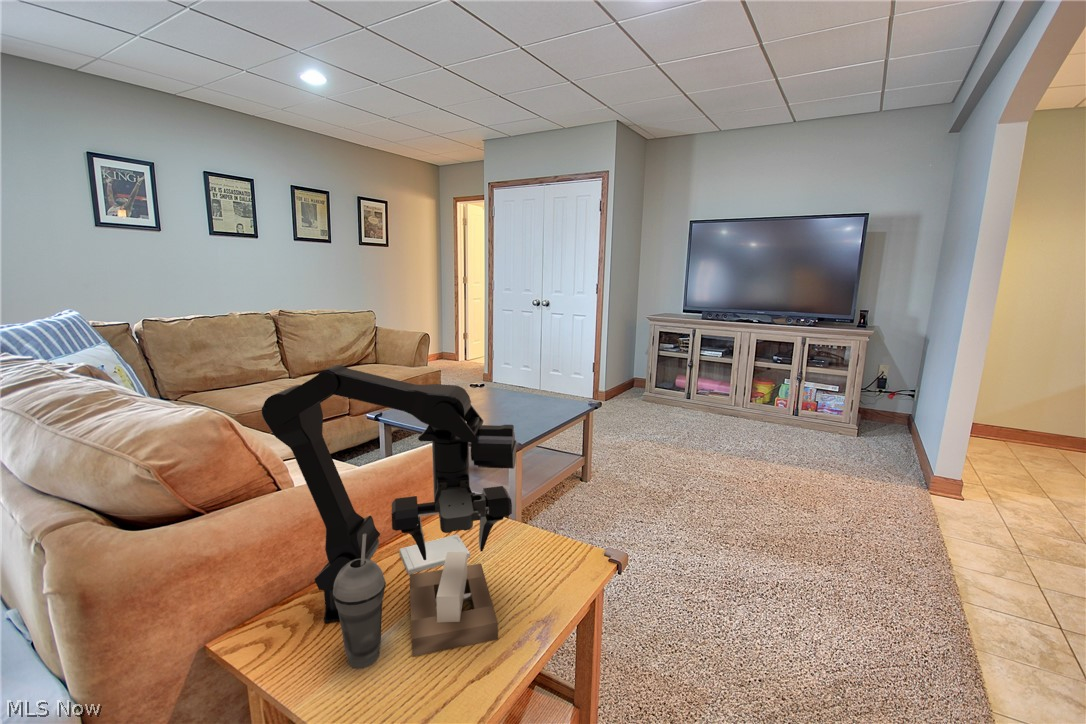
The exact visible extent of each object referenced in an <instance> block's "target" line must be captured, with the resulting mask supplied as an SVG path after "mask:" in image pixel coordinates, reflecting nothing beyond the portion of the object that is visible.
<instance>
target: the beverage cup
mask: <svg viewBox="0 0 1086 724" xmlns="http://www.w3.org/2000/svg"><path fill="white" fill-rule="evenodd" d="M365 547H366V534H363V539H362V553H361V558H360V559H355V560H353V561H350V562H349V563H347V564H346V565H345V566H344V567H343V568H342V569H341V570H340V571H339V573H338V575H337V577H336V579H335V582H334V589H333V592H332V593H333V598H334V601H335V605H336V608H337V609H338V613H339V619H340V620H339V625H340V630H341V635H342V641H343V647H344V652H345V656H346V658H347V659H346V660H347V664H348V666H349V667H351V668H352V669H357V670H358V669H359V670H361V669H365V668H368V667H370V666H372V665H373V664H374V663H375V662H377V660H378V659H379V657H380V649H381V643H382V641H381V640H382V619H383V599H384V596H385V588H386V585H387V583H386V578H385V576H384V572H383V570H382V568H381V567H380V566H379V565H378V564H377V562H375V561H374V560H372V559H370V560H369V559H365Z"/></svg>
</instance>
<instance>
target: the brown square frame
mask: <svg viewBox="0 0 1086 724" xmlns="http://www.w3.org/2000/svg"><path fill="white" fill-rule="evenodd" d="M442 572H443V569H438V570H431V571H425V572H416V573H412V574H408V575H409V598H410V600H409V601H410V624H411V625H410V626H411V650H412V651H411V654H412V655H411V656H412V657H413V658H414V657H418V656H422V655H428V654H432V653H436V652H443V651H448V650H452V649H458V648H463V647H467V646H472V645H476V644H481V643H487V642H491V641H496V640H498V639H499V634H498V633H499V624H498V623H499V622H498V618H497V615H496V611H495V607H494V603H493V601H492V597H491V594H490V590H489V587H488V583H487V580H486V576H485V572H484V568H483V565H482V563H476V564H469V565H468V564H467V579H466V586H465V592H464V598H463V603H464V602H469V604H470V608H471V609H467V610H463V611H461V617H460V622H437V601H436V596H437V592H438V588H439V584H440V580H441V576H442Z"/></svg>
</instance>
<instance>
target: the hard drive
mask: <svg viewBox="0 0 1086 724" xmlns="http://www.w3.org/2000/svg"><path fill="white" fill-rule="evenodd" d="M425 547H426V560H423V557H422V555H421V553H420V550H419V548H418V546H417V544H416V543H415V544H413V545H410V546H405V547H401V548H399V549H398V551H399V552H398V553H399V555H400V558H401V561H402V563H403V565H404V568H405V571H406V573H407V575H411V574H417V573H420V572H423V571H426V570H430V569H433V568H438V567H440V566H444V563H445V559H446V555H447V552H467V559H469V558H471V552H470V551H469V549H468V548H467V546H466V545H465V544H464V541H463V540H462V538H461V537H460V536H459V534H453V535H449V536H444V537H441V538H437V539H433V540H429V541H425Z"/></svg>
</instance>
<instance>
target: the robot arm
mask: <svg viewBox="0 0 1086 724" xmlns="http://www.w3.org/2000/svg"><path fill="white" fill-rule="evenodd" d="M334 395H335V396H339V397H343V398H346V399H350V400H355V401H359V402H363V403H369V404H372V405H375V406H381V407H385V408H390V409H393V410H396V411H400V412H404V413H407V414H409V415H411V416H412V417H413V418H415V419H417V420H418V421H419V422H421V423H423V424H425V425H427V426H426V429H424V430H423V432H422V433H420V435H419V436H418V441H419V442H431V444H432V445H431V448H432V477H433V479H432V480H433V484H432V485H433V501H432V502H423V503H418V497H417V495H413V496H408V497H407V496H405V497H397V498H395V499H394V500H392V502H391V529H392V530H393V531H396V532H397V531H400V532H401V534H409V535H410V536H411V537H412V539H413V540H414V541H415V545H416V544H417V546H418V548H419V550H420V553H421V555H422V557H423V560H426V547H425V542H426V541H425V536H424V531H423V525H422V519H421V517H426V516H434V515H438V516H439V527H440V531H441V532H442V533H445V534H451V533H452V532H459V531H469V530H471V529H473V527H474V526H473V525H474V522H475V521H479V533H478V546H479V547H478V549H479V551H480V552H483V551H484V549H485V546H486V543H487V540H488V537H489V536H490V533H491V532H492V529H493V527H494V525H495V524H496V523H497V522H499V521H503V520H504V518H505V517H509V516H510V515H512V513H513V503H512V498H511V496H510V494H509V493H508V490H507V488H505V487H504V486H503V485H500V486H491V487H484V488H483V489H482V493H477V494H476V493H475V492H472V491H473V490H472V489H471V485H470V484H471V483H470V482H471V481H470V479H471V478H470V460H471V461H472V462H473V465H474V466H476V467H478V468H480V469H515V466H516V461H517V459H516V457H517V439H516V434H515V425H513V424H502V425H491V424H490V425H487V424H486V425H485V424H484V419H483V418H482V417H481V415H479V413H478V412H477V410H476V409H475V408H474V407H473V405H472V400H471V398H470V397H471V396H470V395H469V394H468V392H467V390H466V389H465V388H463V387H461V386H459V385H456V384H455V385H454V384H439V383H436V384H435V383H434V384H415V383H411V382H406V381H402V380H398V379H393V378H389V377H384V376H380V375H378V374H373V373H368V372H364V371H361V370H356V369H353V368H352V369H351V368H349V367H346V366H344V365H341V364H335V365H332V366H329V367H327V368H325V369H323V370H321V371H319V373H317V375H316V376H314V377H312V378H311V379H309V380H307V381H306V382H304V383H302V384H296V385H293V386H290V387H289V388H286V389H283V390H281V391H278V392H277V393H274V394H271V395H270V396H268V397H267V398H266V400H265V401H264V402H263V405H262V407H261V416H262V419H263V421H264V422H265V424H266V426H267V427H268V428H269V430H270V431H271V434H272V435H274V437H275V438H276V439H278V440H279V441H280V442H282V444H284V445H286V446H287V447H289V449H290V450H291V452H292V454H293V456H294V459H295V461H296V464H297V465H298V467H299V470H300V472H301V474H302V477H303V479H304V481H305V484H306V486H307V488H308V490H309V493H310V495H311V497H312V499H313V502H314V504H315V506H316V508H317V510H318V513H319V515H320V518H321V520H322V522H323V524H324V527H325V545H324V546H325V547H324V551H325V555H326V558H327V561H328V562H326V564H325V565H324V567H323V568H322V569H321V570H320V571H319V573H318V574H317V575H316V576H315V578H314V582H315V584H316V586H317V589H318V590H319V591H323V597H324V598H323V599H324V610H325V611H324V615H323V623H325V624H326V623H333V622H338V621H339V622H340V619H339V613H338V609H337V608H336V605H335V601H334V598H333V593H332V592H333V589H334V582H335V579H336V577H337V575H338V573H339V571H340V570H341V569H342V568H343V567H344V566H345V565H346V564H347V563H349V562H350V561H353V560H355V559H360V558H361V553H362V539H363V534H366V547H365V559H369V560H372V558H373V557H374V554H376V552H377V550H378V548H379V546H380V543H379V542H380V540H379V537H380V536H381V533H380V532H379V531H378V529H377V528H376V526H375V521H374V517H373V516H372V515H368V516H366V517H363V516H362V515H360V514H358V513H357V512H356V511H355V509H354V506H353V504H352V502H351V499H350V497H349V495H348V492H347V490H346V487H345V485H344V483H343V481H342V478H341V476H340V473H339V472H338V469H337V467H336V465H335V462H334V460H333V457H332V455H331V452H330V450H329V448H328V445H327V443H326V440H325V438H324V436H323V424H324V423H323V422H324V414H323V410H322V405H321V403H323V402H325V401H326V400H327V399H329V398H331V397H332V396H334ZM483 424H484V425H483Z"/></svg>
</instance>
